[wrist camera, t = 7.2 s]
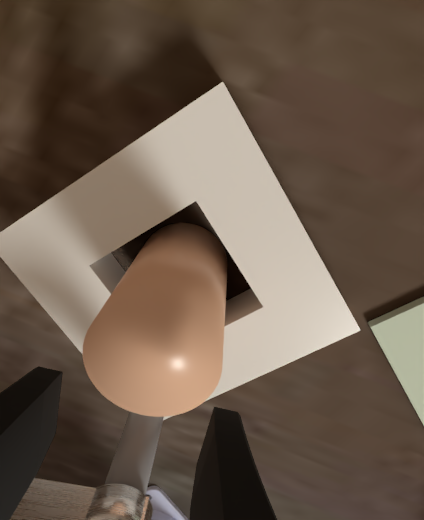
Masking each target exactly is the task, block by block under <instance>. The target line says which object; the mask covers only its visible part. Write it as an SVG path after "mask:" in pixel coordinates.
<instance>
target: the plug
mask: <svg viewBox="0 0 424 520" xmlns="http://www.w3.org/2000/svg"><path fill="white" fill-rule="evenodd" d="M227 268H228V262H227V256H226V253H225V250H224V248H223V246H222V244H221V243H220V241H219V240H218V239H217V238H216V237H215V236H214V235H213V234H212V233H211V232H209V231H208V230H206V229H205V228H203V227H200V226H198V225H195V224H190V223H174V224H170V225H167V226H164V227H162V228H160V229H158V230H157V231H156V232H154V233H153V234H152V235H151V236H150V237H149V239H148V240H147V241H146V243H145V244H144V246H143V247H142V249H141V250H140V252H139V253H138V255H137V256H136V258H135V259H134V261H133V262H132V264H131V265H130V267H129V268H128V270H127V271H126V273H125V274H124V276H123V277H122V279H121V280H120V282H119V283H118V285H117V286H116V288H115V289H114V291H113V292H112V294H111V295H110V297H109V298H108V300H107V301H106V303H105V304H104V306H103V307H102V309H101V310H100V312H99V313H98V315H97V316H96V318H95V319H94V321H93V322H92V324H91V325H90V327H89V329H88V330H87V333H86V335H85V338H84V343H83V361H84V365H85V369H86V371H87V374H88V376H89V378H90V380H91V381H92V383H93V384H94V386H95V387H96V388H97V389H98V390H99V391H100V393H101V394H102V395H103V396H105V397H106V398H107V399H108V400H110V401H111V402H113V403H114V404H116V405H117V406H119V407H121V408H123V409H125V410H128V411H130V412H133V413H137V414H140V415H146V416H154V417H166V416H173V415H178V414H182V413H185V412H187V411H190V410H192V409H194V408H196V407H197V406H199V405H200V404H202V403H203V402H204V401H205V400H206V399H208V398H209V397H210V395H211V394H212V393H213V392H214V390H215V388H216V387H217V385H218V383H219V380H220V377H221V373H222V364H223V345H224V326H225V307H226V287H227Z"/></svg>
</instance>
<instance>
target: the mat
mask: <svg viewBox="0 0 424 520" xmlns="http://www.w3.org/2000/svg"><path fill="white" fill-rule="evenodd" d="M368 324H369V326H370V328H371V330H372V332H373V333H374V335H375V337H376V339H377V341H378V343H379V345H380V346H381V348H382V350H383V352H384V354H385V356H386V357H387V359H388V361H389V363H390V365H391V367H392V368H393V370H394V372H395V374H396V376H397V378H398V380H399V381H400V383H401V385H402V387H403V389H404V391H405V392H406V394H407V396H408V398H409V400H410V402H411V403H412V405H413V407H414V409H415V411H416V413H417V414H418V416H419V418H420V420H421V422H422V424H423V426H424V296H423V297H421V298H419V299H417V300H415V301H413V302H410V303H408V304H406V305H404V306H402V307H400V308H397V309H395V310H393V311H391V312H389V313H386V314H384V315H382V316H380V317H378V318H376V319H373V320H371V321H369V322H368Z"/></svg>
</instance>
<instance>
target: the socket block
mask: <svg viewBox="0 0 424 520" xmlns="http://www.w3.org/2000/svg"><path fill="white" fill-rule="evenodd" d="M195 201H196V202H197V203H198V205H199V206H200V208H201V210H202V211H203V213H204V214H205V216H206V217H207V219H208V221H209V222H210V224H211V225H212V227H213V228H214V230H215V232H216V233H217V235H218V236H219V238H220V240H221V241H222V243H223V244H224V246H225V247H226V249H227V251H228V252H229V254H230V255H231V257H232V258H233V260H234V262H235V263H236V265H237V266H238V268H239V270H240V271H241V273H242V274H243V276H244V277H245V279H246V281H247V282H248V284H249V285H250V287H251V289H249V290H247V291H245V292H243V293H241V294H239V295H237V296H235V297H233V298H231V299H229V300H227V301H226V307H225V326H224V345H223V364H222V373H221V377H220V380H219V383H218V385H217V387H216V388H215V390H214V392H213V393H212V394H211V395H210V397H209V398H208V399H206V400H209V399H211V398H213V397H215V396H217V395H220V394H222V393H224V392H226V391H228V390H231V389H233V388H235V387H237V386H239V385H242V384H244V383H246V382H248V381H250V380H253V379H255V378H257V377H259V376H261V375H264V374H266V373H268V372H270V371H272V370H275V369H277V368H279V367H281V366H283V365H286V364H288V363H290V362H292V361H294V360H297V359H299V358H301V357H303V356H305V355H308V354H310V353H312V352H314V351H316V350H318V349H321V348H323V347H325V346H327V345H329V344H332V343H334V342H336V341H338V340H340V339H343V338H345V337H347V336H349V335H351V334H354V333H356V332H358V331H360V328H359V326H358V325H357V323H356V321H355V319H354V317H353V316H352V314H351V312H350V310H349V308H348V307H347V305H346V303H345V301H344V299H343V298H342V296H341V294H340V292H339V290H338V289H337V287H336V285H335V283H334V281H333V280H332V278H331V276H330V274H329V272H328V271H327V269H326V267H325V265H324V263H323V262H322V260H321V258H320V256H319V254H318V252H317V251H316V249H315V247H314V245H313V243H312V242H311V240H310V238H309V236H308V234H307V233H306V231H305V229H304V227H303V225H302V224H301V222H300V220H299V218H298V216H297V215H296V213H295V211H294V209H293V207H292V206H291V204H290V202H289V200H288V198H287V197H286V195H285V193H284V191H283V189H282V187H281V186H280V184H279V182H278V180H277V178H276V177H275V175H274V173H273V171H272V169H271V168H270V166H269V164H268V162H267V160H266V159H265V157H264V155H263V153H262V151H261V150H260V148H259V146H258V144H257V142H256V141H255V139H254V137H253V135H252V133H251V132H250V130H249V128H248V126H247V124H246V122H245V121H244V119H243V117H242V115H241V113H240V112H239V110H238V108H237V106H236V104H235V103H234V101H233V99H232V97H231V95H230V94H229V92H228V90H227V88H226V86H225V85H224V83H223V82H221V83H220V84H218V85H217V86H215V87H214V88H213V89H211V90H210V91H208V92H207V93H205V94H204V95H202V96H201V97H199V98H198V99H196V100H195V101H193V102H192V103H190V104H189V105H187V106H186V107H184V108H183V109H182V110H180V111H179V112H177V113H176V114H174V115H173V116H171V117H170V118H168V119H167V120H165V121H164V122H162V123H161V124H159V125H158V126H156V127H155V128H154V129H152V130H151V131H149V132H148V133H146V134H145V135H143V136H142V137H140V138H139V139H137V140H136V141H134V142H133V143H131V144H130V145H128V146H127V147H125V148H124V149H123V150H121V151H120V152H118V153H117V154H115V155H114V156H112V157H111V158H109V159H108V160H106V161H105V162H103V163H102V164H100V165H99V166H97V167H96V168H95V169H93V170H92V171H90V172H89V173H87V174H86V175H84V176H83V177H81V178H80V179H78V180H77V181H75V182H74V183H72V184H71V185H69V186H68V187H66V188H65V189H64V190H62V191H61V192H59V193H58V194H56V195H55V196H53V197H52V198H50V199H49V200H47V201H46V202H44V203H43V204H41V205H40V206H38V207H37V208H36V209H34V210H33V211H31V212H30V213H28V214H27V215H25V216H24V217H22V218H21V219H19V220H18V221H16V222H15V223H13V224H12V225H10V226H9V227H7V228H6V229H5V230H3V231H2V232H0V257H1V258H2V259H3V261H4V262H5V263H6V264H7V265H8V266H9V268H10V269H11V270H12V271H13V272H14V274H15V275H16V276H17V277H18V278H19V280H20V281H21V282H22V283H23V284H24V285H25V287H26V288H27V289H28V290H29V291H30V293H31V294H32V295H33V296H34V297H35V299H36V300H37V301H38V302H39V303H40V304H41V306H42V307H43V308H44V309H45V310H46V312H47V313H48V314H49V315H50V316H51V318H52V319H53V320H54V321H55V322H56V323H57V325H58V326H59V327H60V328H61V329H62V331H63V332H64V333H65V334H66V335H67V336H68V338H69V339H70V340H71V341H72V342H73V344H74V345H75V346H76V347H77V348H78V350H79V351H80V352H81V353H82V354H83V343H84V338H85V335H86V333H87V330H88V329H89V327H90V325H91V324H92V322H93V321H94V319H95V318H96V316H97V315H98V313H99V312H100V310H101V309H102V307H103V306H104V304H105V303H106V301H107V300H108V298H109V297H110V295H111V294H112V292H113V291H114V289H115V288H116V286H117V285H118V283H119V282H120V280H121V279H122V277H123V276H124V274H125V273H126V272H125V271H124V269H123V268H122V267H121V265H120V264H119V263H118V261H117V260H116V259H115V257H114V256H113V254H112V253H111V252H112V251H114V250H116V249H117V248H119V247H121V246H122V245H124V244H126V243H127V242H129V241H131V240H132V239H134V238H136V237H137V236H139V235H140V234H142V233H144V232H145V231H147V230H149V229H150V228H152V227H154V226H155V225H157V224H159V223H160V222H162V221H164V220H165V219H167V218H169V217H170V216H172V215H174V214H175V213H177V212H179V211H180V210H182V209H184V208H185V207H187V206H188V205H190V204H192V203H193V202H195ZM206 400H205V401H206ZM173 416H174V415H173ZM169 417H171V416H166V417H154V416H146V415H140V414H137V413H133V412H129V415H128V418H127V421H126V424H125V427H124V430H123V433H122V435H121V438H120V441H119V444H118V447H117V450H116V453H115V455H114V458H113V461H112V464H111V467H110V470H109V473H108V475H107V478H106V481H105V484H124V485H128V486H131V487H133V488H136V489H137V490H139V491H141V492H142V493H143V494H145V495H146V491H147V487H148V482H149V478H150V474H151V469H152V465H153V461H154V457H155V452H156V448H157V444H158V439H159V435H160V431H161V427H162V422H163V420H165V419H167V418H169ZM105 484H104V485H105Z"/></svg>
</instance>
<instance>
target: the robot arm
mask: <svg viewBox="0 0 424 520" xmlns="http://www.w3.org/2000/svg"><path fill="white" fill-rule="evenodd" d="M61 381H62V372H60V371H56V370H52V369H47V368H43V367H37V368H35V369H33V370H32V371H31V372H29V373H28V374H26V375H25V376H24V377H22V378H21V379H19V380H18V381H17V382H15V383H14V384H12V385H11V386H10V387H8V388H7V389H5V390H4V391H3V392H1V393H0V520H10V518H11V516H12V515H13V513H14V511H15V510H16V508H17V506H18V505H19V503H20V501H21V500H22V498H23V496H24V495H25V493H26V491H27V490H28V488H29V486H30V484H31V483H32V481H33V479H34V478H35V476H36V474H37V472H38V470H39V468H40V466H41V464H42V462H43V460H44V457H45V455H46V453H47V451H48V449H49V447H50V444H51V442H52V440H53V438H54V436H55V433H56V426H57V417H58V408H59V399H60V390H61ZM147 494H148V495H150V496H148V497H149V500H150V502H151V504H152V508H153V514H152V518H151V520H188V519H187V517H186V516H185V515H184V514H183V513H182V512H181V511H180V509H179V508H178V507H177V506H176V505H175V504H174V503H173V502H172V500H171V499H170V498H169V497H168V496H167V495H166V494H165V492H164V491H163V490H162V489H161V488H160V487H158V486H150V487H147V491H146V495H147ZM190 520H277V518H276V516H275V513H274V511H273V509H272V506H271V504H270V501H269V499H268V496H267V494H266V491H265V489H264V486H263V484H262V481H261V478H260V476H259V473H258V470H257V468H256V465H255V462H254V459H253V456H252V453H251V450H250V447H249V444H248V441H247V438H246V434H245V431H244V427H243V424H242V420H241V416H240V415H239V413H238V412H235V411H231V410H226V409H222V408H217V407H214V409H213V413H212V416H211V419H210V423H209V426H208V429H207V432H206V436H205V439H204V442H203V446H202V449H201V452H200V455H199V459H198V462H197V466H196V473H195V480H194V486H193V493H192V500H191V507H190Z"/></svg>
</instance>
